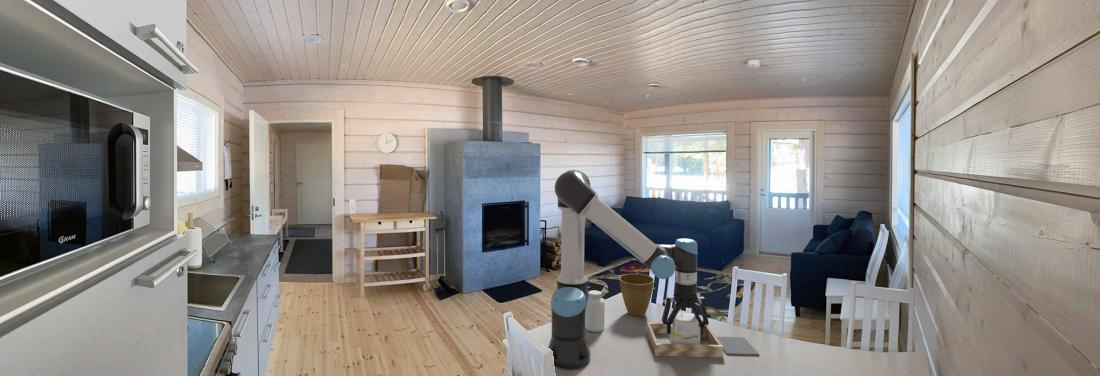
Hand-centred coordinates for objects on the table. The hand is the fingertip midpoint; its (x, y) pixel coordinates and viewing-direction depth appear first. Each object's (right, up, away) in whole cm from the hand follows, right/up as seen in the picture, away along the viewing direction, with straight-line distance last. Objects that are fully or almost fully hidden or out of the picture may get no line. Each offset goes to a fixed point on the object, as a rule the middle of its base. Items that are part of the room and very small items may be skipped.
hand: (684, 342), depth 148 cm
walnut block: (+8, -1, +8) cm, 12 cm away
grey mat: (+19, -2, +1) cm, 19 cm away
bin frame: (0, -2, +3) cm, 4 cm away
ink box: (0, -2, 0) cm, 2 cm away
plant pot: (-11, 0, +32) cm, 34 cm away
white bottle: (-31, -1, +17) cm, 35 cm away
